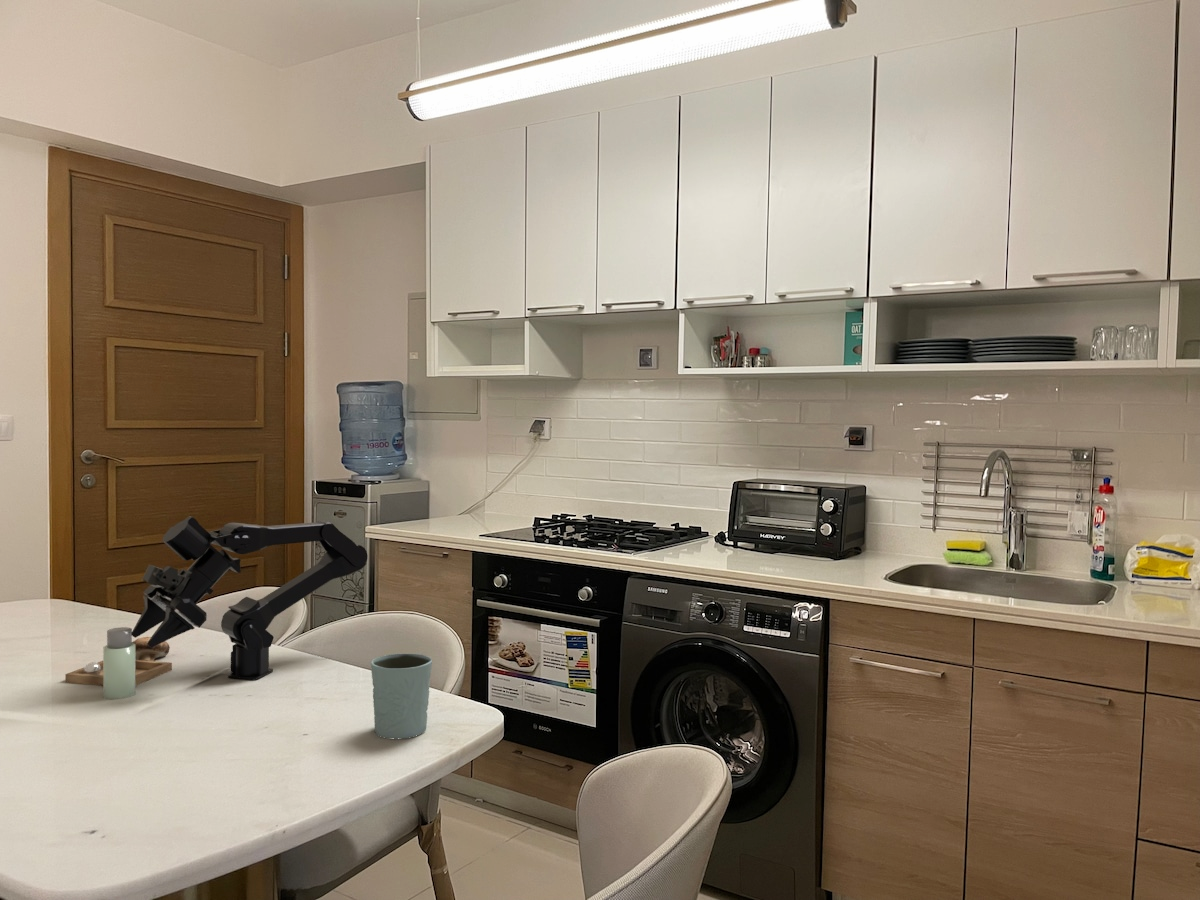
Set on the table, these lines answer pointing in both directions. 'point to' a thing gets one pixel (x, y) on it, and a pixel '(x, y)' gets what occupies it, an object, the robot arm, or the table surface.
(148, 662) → the tray
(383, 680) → the grey-green cup
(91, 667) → the ball
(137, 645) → the mushroom
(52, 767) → the table surface
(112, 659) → the disc
